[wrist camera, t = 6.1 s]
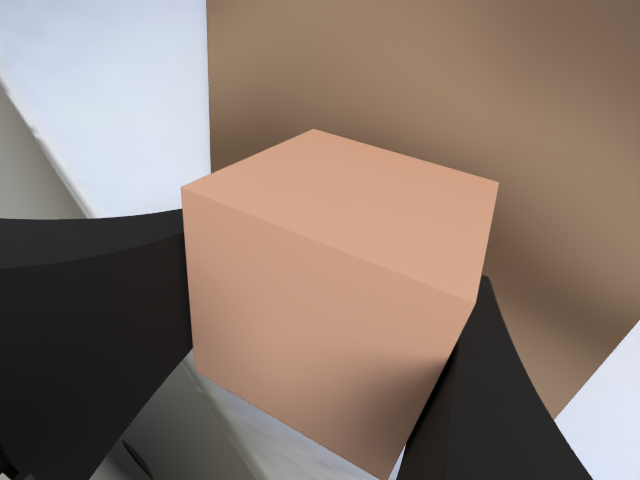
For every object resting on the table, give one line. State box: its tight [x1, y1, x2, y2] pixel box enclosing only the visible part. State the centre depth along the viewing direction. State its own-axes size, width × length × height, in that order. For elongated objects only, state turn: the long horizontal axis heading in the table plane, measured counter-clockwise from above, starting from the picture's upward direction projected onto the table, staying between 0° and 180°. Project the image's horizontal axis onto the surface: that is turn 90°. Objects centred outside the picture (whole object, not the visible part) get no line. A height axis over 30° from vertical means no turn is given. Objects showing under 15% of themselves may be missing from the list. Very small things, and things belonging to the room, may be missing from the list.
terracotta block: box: [181, 129, 499, 480], centre depth 9 cm, size 5×5×5 cm
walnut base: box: [206, 0, 640, 420], centre depth 12 cm, size 18×14×2 cm
